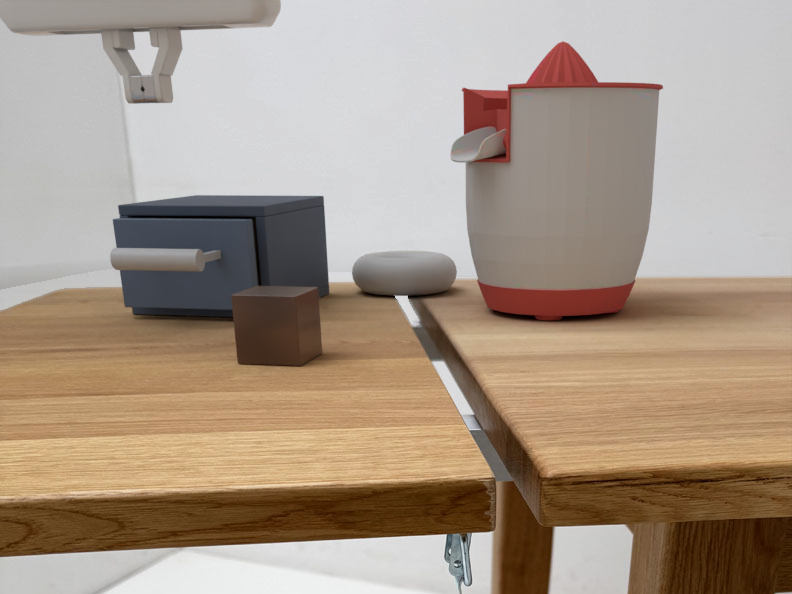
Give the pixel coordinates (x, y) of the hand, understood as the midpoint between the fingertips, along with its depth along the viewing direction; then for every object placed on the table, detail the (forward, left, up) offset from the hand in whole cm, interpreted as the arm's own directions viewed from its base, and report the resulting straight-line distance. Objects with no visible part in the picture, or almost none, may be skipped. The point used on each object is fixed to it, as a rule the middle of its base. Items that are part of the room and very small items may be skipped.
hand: (150, 103), depth 74 cm
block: (+13, -11, -16) cm, 23 cm away
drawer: (0, +7, -15) cm, 16 cm away
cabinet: (0, +12, -16) cm, 20 cm away
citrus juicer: (+28, +12, -16) cm, 34 cm away
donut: (+13, +22, -16) cm, 30 cm away
